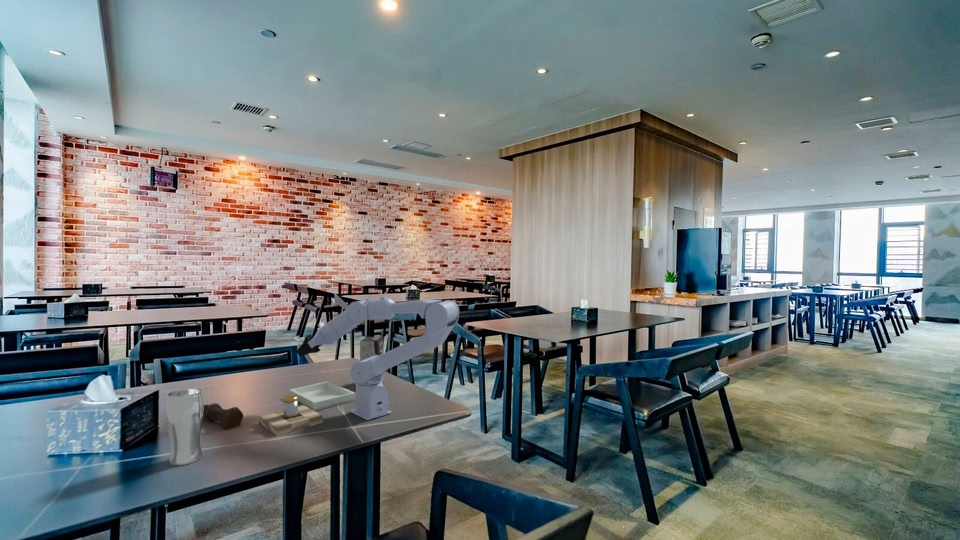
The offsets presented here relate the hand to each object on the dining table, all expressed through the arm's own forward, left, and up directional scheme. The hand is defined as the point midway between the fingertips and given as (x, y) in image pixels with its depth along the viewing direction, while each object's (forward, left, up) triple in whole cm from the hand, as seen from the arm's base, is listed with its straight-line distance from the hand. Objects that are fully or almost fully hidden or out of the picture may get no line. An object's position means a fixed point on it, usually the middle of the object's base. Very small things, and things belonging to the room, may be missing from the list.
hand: (306, 349), depth 132 cm
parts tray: (+2, -6, -17) cm, 18 cm away
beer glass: (-16, +34, -17) cm, 42 cm away
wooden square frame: (-11, +9, -17) cm, 22 cm away
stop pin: (-11, +9, -17) cm, 22 cm away
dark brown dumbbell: (+4, +23, -17) cm, 29 cm away
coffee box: (+5, -26, -17) cm, 31 cm away
